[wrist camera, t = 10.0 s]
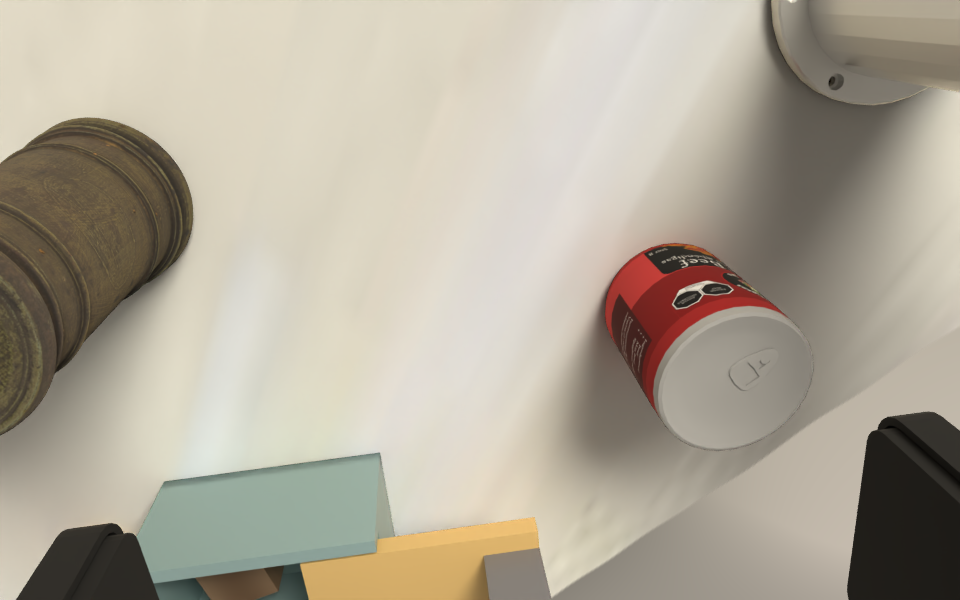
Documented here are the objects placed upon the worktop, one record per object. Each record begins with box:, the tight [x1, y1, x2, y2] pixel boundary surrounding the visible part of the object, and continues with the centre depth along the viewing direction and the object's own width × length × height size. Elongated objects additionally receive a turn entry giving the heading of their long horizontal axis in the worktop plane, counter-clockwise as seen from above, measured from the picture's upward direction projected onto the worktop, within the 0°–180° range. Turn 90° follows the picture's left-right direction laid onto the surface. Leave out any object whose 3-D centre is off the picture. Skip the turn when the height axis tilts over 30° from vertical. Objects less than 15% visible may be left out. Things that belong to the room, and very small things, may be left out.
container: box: [0, 118, 193, 435], centre depth 32 cm, size 9×9×18 cm
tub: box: [136, 453, 395, 600], centre depth 45 cm, size 14×9×8 cm, turn 95°
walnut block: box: [196, 565, 284, 600], centre depth 46 cm, size 4×4×4 cm
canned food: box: [605, 243, 813, 451], centre depth 40 cm, size 8×8×11 cm
